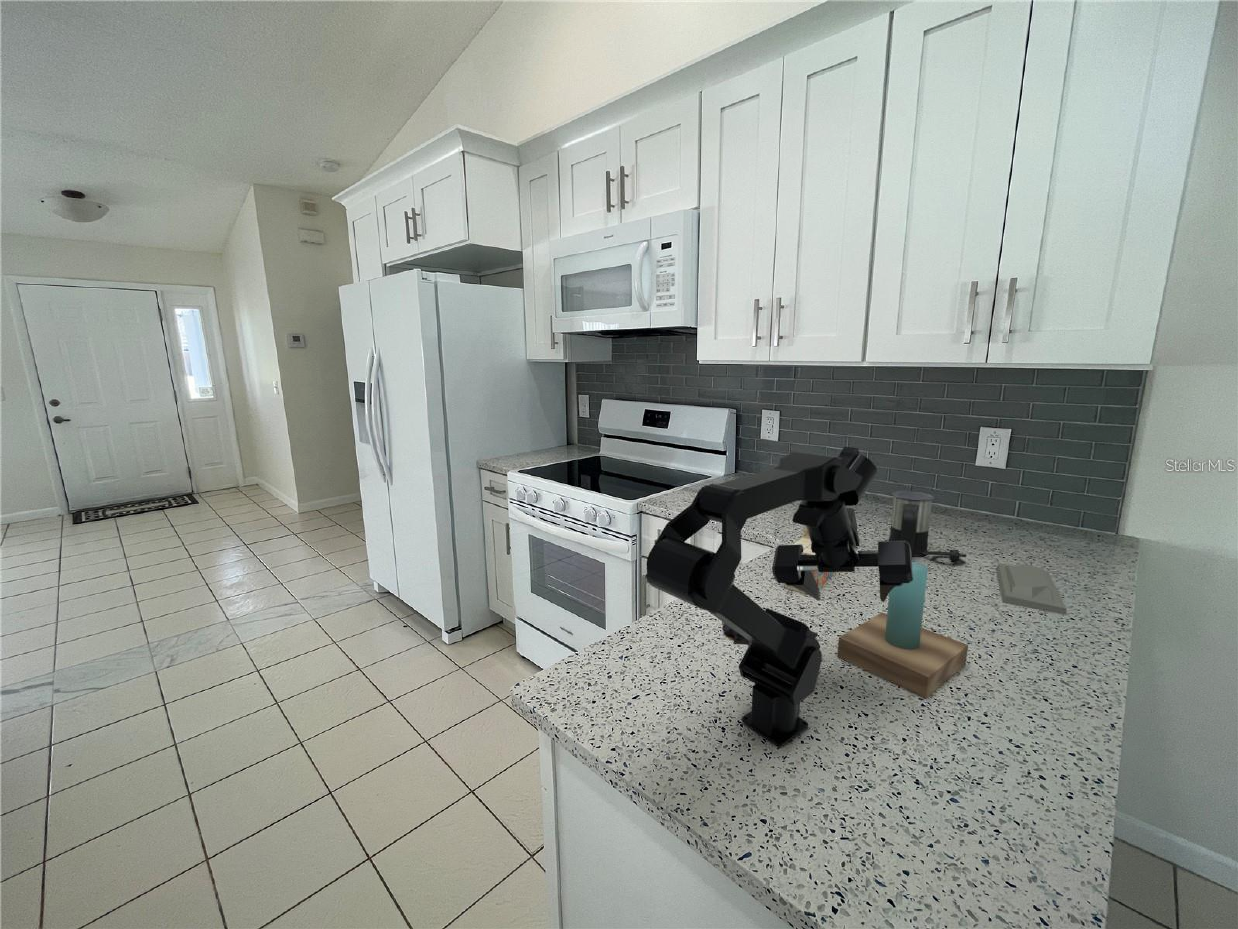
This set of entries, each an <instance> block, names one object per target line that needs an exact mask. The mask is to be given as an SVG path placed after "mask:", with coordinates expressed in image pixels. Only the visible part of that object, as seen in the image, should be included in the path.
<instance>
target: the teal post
mask: <svg viewBox="0 0 1238 929" xmlns="http://www.w3.org/2000/svg"><path fill="white" fill-rule="evenodd" d="M912 571H913V580H912V581H911V582H910V583H903V585H901V586H895V587H894V588H893V589H892V590H891V591H890V592H889V594H888V601H887V611H886V612H887V613H886V614H887V621H886V632H885V640H886V641H887V642H888V643H889V644H891V645H893V646H895V647H898V648H902V649H916V648H918V647H919V646H920V637H921V627H922V626H923V617H924V616H923V615H924V607H925V599H926V598H925V597H926V588H927V581H928V580H927V579H928V571H929V568H928V566H926V565H924V564H923V563H920V562H917V561H913V560H912ZM922 628H923V627H922Z"/></svg>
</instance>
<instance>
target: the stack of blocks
mask: <svg viewBox="0 0 1238 929" xmlns="http://www.w3.org/2000/svg"><path fill="white" fill-rule="evenodd" d="M799 544H802V546H803V549H804V550H803V552H802V553H801V555H815V553H812V550H811V540H810V537H809V534H808V530H807V527H806V526H805V525H802V537H801V538H799V539H798V540H797V541H795V542H794V543H793V544H792V545H799ZM811 572H812V574H813V576H814V579H815V581H816V583H817V585H818V588H819V590H820V589H821V587H823V586H824V585H825V584H826V582H828V580H830V578H831V577H832V576H833V575H834V574H835V573H837V572H819V571H811ZM784 588H785V589H787V590H789V591H794V592H798V593H801V594H805V595H808V594H807V593H805V592H803V591H801V590H799V589H797V588H795V587H793V586H787V585H786V584H785V583H784Z"/></svg>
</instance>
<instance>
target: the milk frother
mask: <svg viewBox="0 0 1238 929" xmlns="http://www.w3.org/2000/svg"><path fill="white" fill-rule="evenodd" d="M892 495H893V498H892V499H893V500H892V507H891V518H890V519H891V520H890V529H889V530H890V532H889V537H888V541H906V542H907V543H909V544H910V548H911V554H912V557H922V556H923V557H924V556H927V555H931V556H946V557H949V559H950V560H951V561H959V560H960V558H967V554H966V553H961V552H959V549H949V551H941V550H940V551H929V550H928V544H929V543H928V542H929V531H930V530H929V529H930V521H931V513H932V504H933V503H932V502H933V500H934V499H935V497H934V496H933V495H931V494H928V493H924V492H919V491H909V490H898V491H893V492H892Z"/></svg>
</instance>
